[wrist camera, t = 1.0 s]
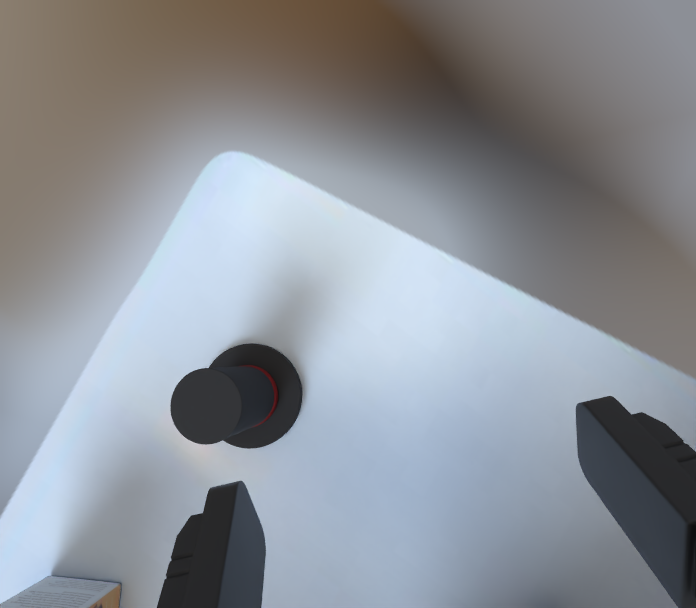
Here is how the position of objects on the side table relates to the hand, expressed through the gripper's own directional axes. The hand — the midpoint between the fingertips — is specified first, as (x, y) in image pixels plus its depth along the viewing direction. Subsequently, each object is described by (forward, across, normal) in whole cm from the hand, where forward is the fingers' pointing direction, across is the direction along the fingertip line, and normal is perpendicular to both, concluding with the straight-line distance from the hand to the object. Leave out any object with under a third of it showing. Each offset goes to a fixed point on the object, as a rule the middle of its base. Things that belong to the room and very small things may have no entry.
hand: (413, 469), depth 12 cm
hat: (+21, +9, +10) cm, 24 cm away
